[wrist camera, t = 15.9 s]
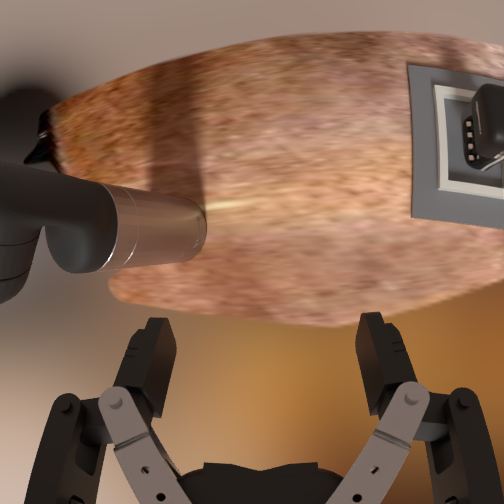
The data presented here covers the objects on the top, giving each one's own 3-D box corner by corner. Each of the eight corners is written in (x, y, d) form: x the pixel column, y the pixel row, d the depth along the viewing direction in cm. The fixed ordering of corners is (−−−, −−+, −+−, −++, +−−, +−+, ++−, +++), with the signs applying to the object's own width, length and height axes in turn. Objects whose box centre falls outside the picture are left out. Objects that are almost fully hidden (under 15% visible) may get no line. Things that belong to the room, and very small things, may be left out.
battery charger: (456, 115, 30) (480, 73, 20) (482, 119, 29) (513, 81, 18) (459, 169, 31) (491, 142, 20) (486, 173, 29) (525, 149, 19)
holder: (411, 217, 34) (414, 216, 32) (407, 69, 33) (408, 59, 31) (522, 232, 29) (531, 231, 26) (511, 87, 27) (518, 79, 25)
